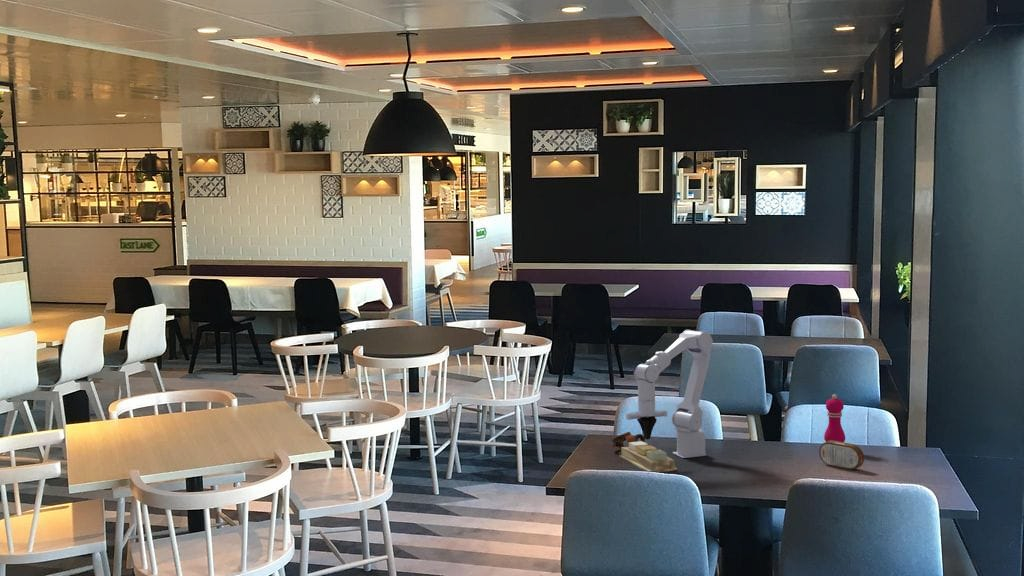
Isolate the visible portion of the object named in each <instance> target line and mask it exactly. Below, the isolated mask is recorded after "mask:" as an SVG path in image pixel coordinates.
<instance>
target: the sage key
mask: <svg viewBox="0 0 1024 576" xmlns="http://www.w3.org/2000/svg"><path fill="white" fill-rule="evenodd" d="M667 457H668V454H667V452H666V451H663V450H661V449H657V450H653V451H647V458H648V459H650V460H652V461H657V460H666V459H667Z"/></svg>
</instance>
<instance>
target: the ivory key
mask: <svg viewBox="0 0 1024 576" xmlns="http://www.w3.org/2000/svg"><path fill="white" fill-rule="evenodd" d="M640 446H649V444H648V443H647V442H642V441H641V440H638V442H628V447H629V449H630V450H632V451H634V452H638V449H637V447H640Z"/></svg>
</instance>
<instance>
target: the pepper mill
mask: <svg viewBox="0 0 1024 576" xmlns="http://www.w3.org/2000/svg"><path fill="white" fill-rule="evenodd" d="M825 408H826V410H827V414H826V415H827V417H828V424H827V426H826V429H825V431H824V434H823V439H824V441H825V442H827V441H829V440H833V441H839V442H844V443H845V441H846V435H845V431H844V429H843V427H842V424H841V423H842V421H841V420H842V418H841V417H843V415H842V414H843V412H842V411H843V410H844V402H843V401H842V400H841V399H839V398H838V394H836V393H834V394H832V396H831V398H829V399H828V400H827V401H826V403H825Z"/></svg>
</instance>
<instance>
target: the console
mask: <svg viewBox="0 0 1024 576" xmlns="http://www.w3.org/2000/svg"><path fill="white" fill-rule="evenodd" d="M620 450H621V452H620V453H621V455H620V454H619V456H618V457H619V458H620V459H623V460H624V461H625V462H628V463H630V464H632V465H633V466H635V467H637V468H638V469H641V470H643V471H645V470H646V471H645V472H647V471H657V472H656V473H664V472H673V471H678V468H677V467H676V460H675V459H673V458H672V457H669V456H667V459H666V460H657V461H652V460H650V459H648V458H647V456H642V455H640V454H638V452H634V451H632V450H630V449H629V446H628V447H627V446H624V447H621V449H620Z"/></svg>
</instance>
